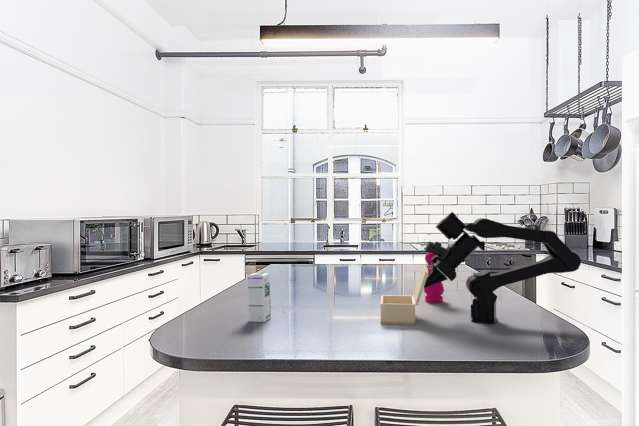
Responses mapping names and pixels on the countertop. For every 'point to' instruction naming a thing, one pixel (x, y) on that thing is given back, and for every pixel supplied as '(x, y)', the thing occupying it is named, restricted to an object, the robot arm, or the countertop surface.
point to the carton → (397, 310)
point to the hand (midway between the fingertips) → (423, 286)
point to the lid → (420, 285)
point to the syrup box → (258, 297)
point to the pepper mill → (436, 289)
